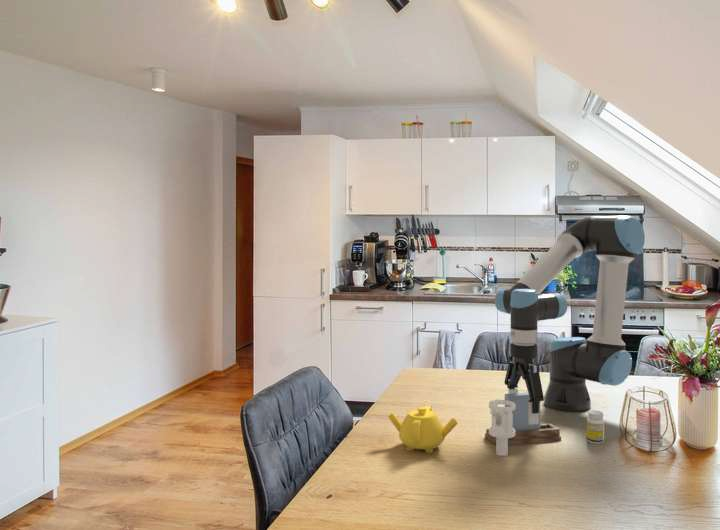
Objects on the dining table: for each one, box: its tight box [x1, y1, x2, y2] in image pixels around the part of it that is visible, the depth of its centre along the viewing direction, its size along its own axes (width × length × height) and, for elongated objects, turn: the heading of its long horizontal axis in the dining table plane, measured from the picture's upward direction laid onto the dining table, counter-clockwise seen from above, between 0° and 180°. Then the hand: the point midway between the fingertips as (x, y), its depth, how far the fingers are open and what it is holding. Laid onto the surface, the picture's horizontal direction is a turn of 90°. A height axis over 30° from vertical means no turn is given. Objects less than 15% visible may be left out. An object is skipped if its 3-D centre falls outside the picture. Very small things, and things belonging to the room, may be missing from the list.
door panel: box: [504, 391, 541, 431], centre depth 179 cm, size 10×3×12 cm, turn 103°
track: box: [484, 423, 562, 446], centre depth 179 cm, size 20×8×3 cm, turn 103°
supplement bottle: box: [586, 409, 605, 445], centre depth 176 cm, size 5×5×8 cm
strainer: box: [488, 399, 516, 457], centre depth 167 cm, size 7×7×15 cm
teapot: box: [387, 405, 458, 454], centre depth 173 cm, size 20×18×11 cm
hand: (522, 417), depth 179 cm, fingers open, 12 cm apart
